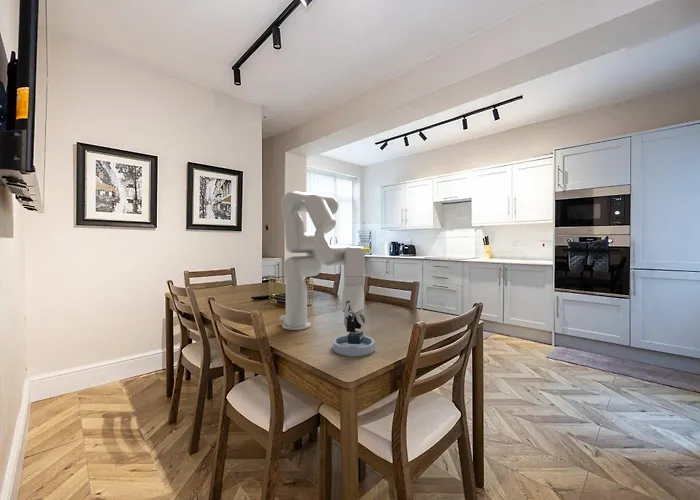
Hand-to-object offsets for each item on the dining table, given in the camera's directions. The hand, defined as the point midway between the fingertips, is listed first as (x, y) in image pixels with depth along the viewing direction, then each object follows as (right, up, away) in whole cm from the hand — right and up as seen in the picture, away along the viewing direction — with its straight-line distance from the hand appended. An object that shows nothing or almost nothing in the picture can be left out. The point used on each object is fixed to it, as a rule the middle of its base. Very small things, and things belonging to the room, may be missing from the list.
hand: (354, 329), depth 119 cm
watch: (+1, -4, 0) cm, 4 cm away
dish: (0, -7, 0) cm, 7 cm away
